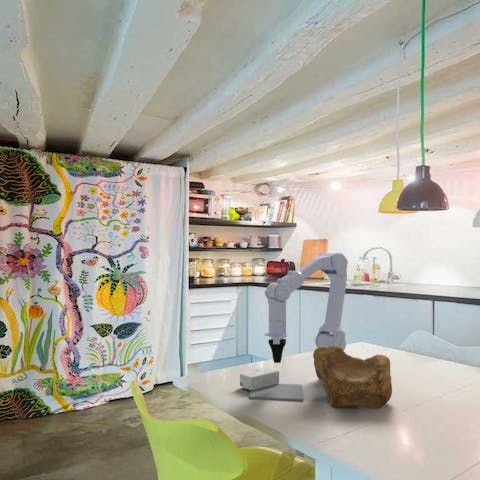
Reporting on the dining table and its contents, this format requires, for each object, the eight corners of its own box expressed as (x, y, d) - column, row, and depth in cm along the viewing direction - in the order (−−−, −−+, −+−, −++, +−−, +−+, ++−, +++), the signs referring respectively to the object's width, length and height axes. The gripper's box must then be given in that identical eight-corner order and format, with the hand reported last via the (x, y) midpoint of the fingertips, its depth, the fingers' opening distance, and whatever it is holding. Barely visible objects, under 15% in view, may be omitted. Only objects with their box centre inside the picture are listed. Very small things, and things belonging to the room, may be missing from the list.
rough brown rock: (300, 408, 117) (300, 356, 116) (316, 387, 132) (316, 341, 131) (386, 426, 106) (387, 370, 106) (393, 401, 121) (393, 351, 121)
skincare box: (279, 370, 135) (251, 376, 127) (279, 384, 134) (251, 391, 127) (266, 367, 140) (239, 372, 132) (266, 380, 139) (239, 386, 132)
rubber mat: (302, 386, 134) (302, 384, 134) (303, 401, 120) (303, 399, 120) (253, 384, 136) (253, 382, 136) (249, 398, 122) (249, 396, 122)
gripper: (266, 316, 140) (266, 356, 139) (263, 323, 126) (263, 367, 125) (287, 317, 139) (287, 357, 138) (286, 323, 125) (286, 368, 124)
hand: (277, 362), depth 132 cm, fingers closed
